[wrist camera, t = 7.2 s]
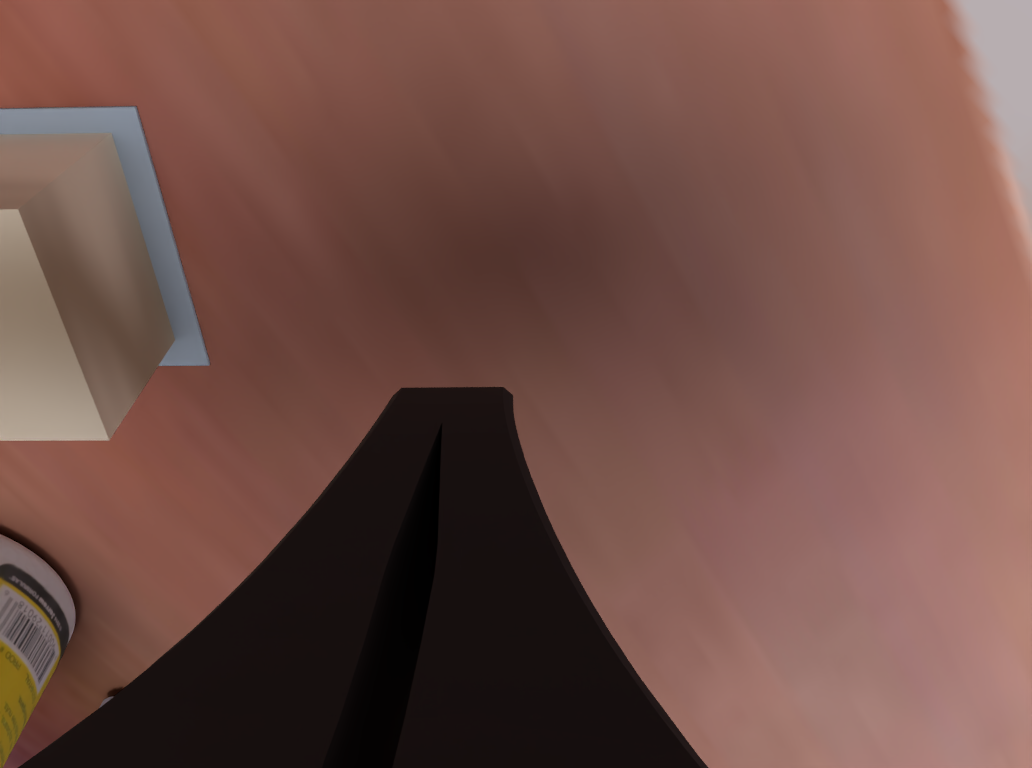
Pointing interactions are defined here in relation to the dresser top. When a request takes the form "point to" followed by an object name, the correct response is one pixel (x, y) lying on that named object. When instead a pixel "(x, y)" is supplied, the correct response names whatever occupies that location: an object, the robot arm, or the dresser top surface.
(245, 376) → the dresser top surface
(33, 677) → the supplement bottle
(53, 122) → the slate t outline
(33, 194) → the maple t block
